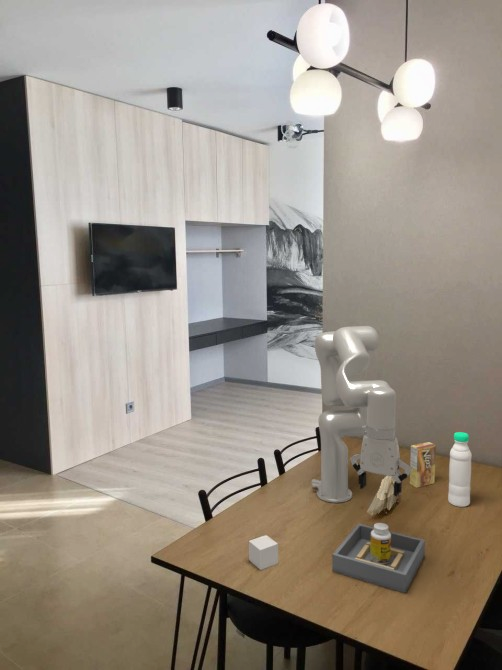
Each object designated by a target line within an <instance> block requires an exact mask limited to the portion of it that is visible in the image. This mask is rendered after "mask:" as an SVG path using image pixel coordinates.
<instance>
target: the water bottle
mask: <svg viewBox="0 0 502 670" xmlns="http://www.w3.org/2000/svg"><path fill="white" fill-rule="evenodd" d="M453 439H454V444H453V446H452V447H451V449H450V452H449V467H448V470H449V471H448V481H449V482H448V497H447V501H448V502H449V504H451V505H453V506H455V507H459V508H462V507H463V508H464V507H467V506H469V505H470V504H471V480H472V479H471V477H472V456H473V455H472V452H471V450H470V447H469V445H468V443H469V439H470V436H469V434H468V433H467V432H462V431H458V432H454V434H453Z"/></svg>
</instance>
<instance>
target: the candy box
mask: <svg viewBox="0 0 502 670" xmlns="http://www.w3.org/2000/svg"><path fill="white" fill-rule="evenodd" d="M436 451H437V445H436V444H435V443H432V442H429V441H428V442H421V443H417V444H413V445H410V457H409V458H410V464H409V466H410V467H412V470H411V472H410V473H409V484H410V485H411V486H412V487H414V488H420V487H425V486H429V485H433V484H435V479H436V477H435V475H436V474H435V473H436V456H437V455H436V453H437V452H436Z"/></svg>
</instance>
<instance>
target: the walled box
mask: <svg viewBox="0 0 502 670" xmlns="http://www.w3.org/2000/svg"><path fill="white" fill-rule="evenodd" d="M372 530H374V526H369V525H367V524H362V523H357V524H356V525H355V527H354V528H353V529H352V530H351V531H350V533H349V534H348V535H347V537H345V539H344V540H343V541H342V543H340V544H339V546H338V547H337V548H336V549H335V551H334V552H333V553H332V556H331V557H332V563H331V564H332V567H331V568H332V572H333V573H336V574H339V575H343V576H347V577H350V578H353V579H357V580H360V581H362V582H363V581H364V582H366V583H370V584H373V585H376V586H379V587H383V588H387V589H390V590H393V591H397V592H400V593H403V594H406V592H407V591H408V589H409V587H410V585H411V583H412V581H413V579H414V577H415V575H416V573H417V572H418V569H419V568H420V565H421V564H422V562H423V560H424V558H425V556H426V555H425V553H426V552H425V550H426V549H425V547H426V540H425V539H422V538H420V537H416V536H412V535H406V534H402V533H400V532H395V531H391V530H389V532H390V533H391V557H390V562H389V563H387V564H384V565H381V564H378V563H374V562H373V561H372V560H371V558H370V546H371V531H372Z"/></svg>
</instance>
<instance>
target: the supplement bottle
mask: <svg viewBox="0 0 502 670" xmlns="http://www.w3.org/2000/svg"><path fill="white" fill-rule="evenodd" d="M373 527H374V530H372V531H371V546H370V558H371V560H372V561H373V562H374V563H378V564H381V565H384V564H387V563H389V562H390V557H391V533H390V532H389V531H390V530H389V525H388V524H386V523H384V522H375V523H374V525H373Z"/></svg>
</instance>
